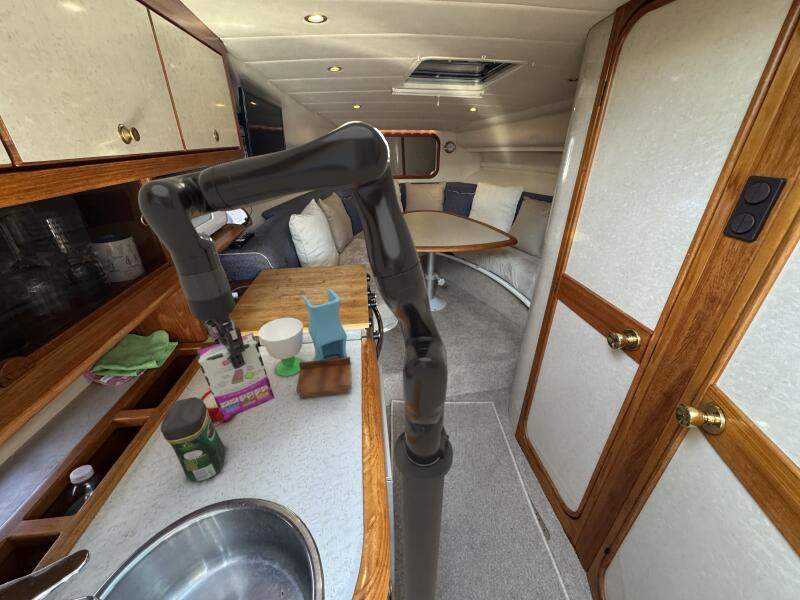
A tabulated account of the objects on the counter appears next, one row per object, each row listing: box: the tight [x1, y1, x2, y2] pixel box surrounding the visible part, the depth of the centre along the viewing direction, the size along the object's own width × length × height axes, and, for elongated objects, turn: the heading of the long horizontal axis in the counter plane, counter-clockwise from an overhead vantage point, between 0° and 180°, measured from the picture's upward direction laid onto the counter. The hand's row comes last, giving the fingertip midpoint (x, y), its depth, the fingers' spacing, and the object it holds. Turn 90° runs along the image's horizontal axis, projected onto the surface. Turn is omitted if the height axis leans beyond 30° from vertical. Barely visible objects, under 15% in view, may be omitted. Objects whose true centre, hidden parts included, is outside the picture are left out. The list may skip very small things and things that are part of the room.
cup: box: [258, 317, 304, 377], centre depth 104 cm, size 14×14×16 cm
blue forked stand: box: [301, 288, 348, 361], centre depth 104 cm, size 10×10×25 cm
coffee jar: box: [160, 396, 226, 483], centre depth 72 cm, size 10×8×19 cm
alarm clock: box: [200, 387, 234, 428], centre depth 90 cm, size 10×6×15 cm
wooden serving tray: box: [295, 356, 352, 399], centre depth 98 cm, size 16×10×6 cm, turn 98°
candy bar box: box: [197, 332, 275, 419], centre depth 69 cm, size 11×5×16 cm, turn 123°
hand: (232, 360), depth 67 cm, fingers closed on candy bar box, 5 cm apart
